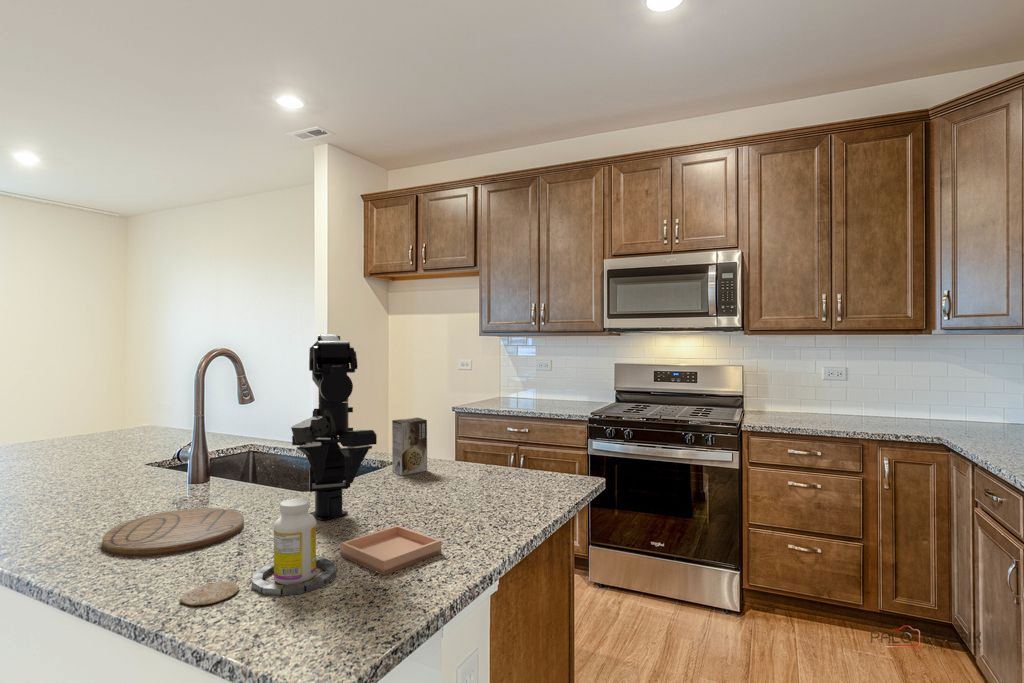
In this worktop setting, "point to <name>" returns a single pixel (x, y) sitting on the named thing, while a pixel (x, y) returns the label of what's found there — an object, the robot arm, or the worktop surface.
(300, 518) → the supplement bottle
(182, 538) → the trivet
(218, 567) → the worktop surface
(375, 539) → the tray
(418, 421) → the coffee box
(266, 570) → the seat ring
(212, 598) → the flatbread
